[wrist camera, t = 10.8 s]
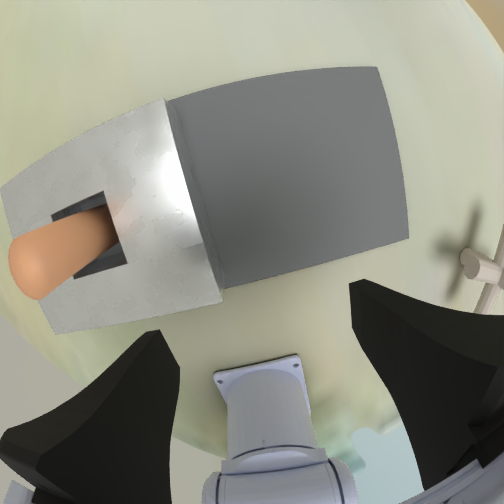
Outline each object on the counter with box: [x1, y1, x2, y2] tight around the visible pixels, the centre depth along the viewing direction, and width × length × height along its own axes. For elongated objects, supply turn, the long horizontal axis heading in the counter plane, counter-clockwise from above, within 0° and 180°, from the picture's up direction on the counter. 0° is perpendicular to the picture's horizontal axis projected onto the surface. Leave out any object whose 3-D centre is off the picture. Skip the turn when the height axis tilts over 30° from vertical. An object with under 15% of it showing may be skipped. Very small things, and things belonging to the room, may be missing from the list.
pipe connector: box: [460, 225, 504, 315], centre depth 16 cm, size 10×10×10 cm
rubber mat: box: [81, 67, 409, 289], centre depth 18 cm, size 14×30×1 cm, turn 104°
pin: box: [8, 203, 120, 300], centre depth 13 cm, size 3×3×10 cm
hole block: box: [0, 98, 225, 335], centre depth 16 cm, size 12×14×4 cm
